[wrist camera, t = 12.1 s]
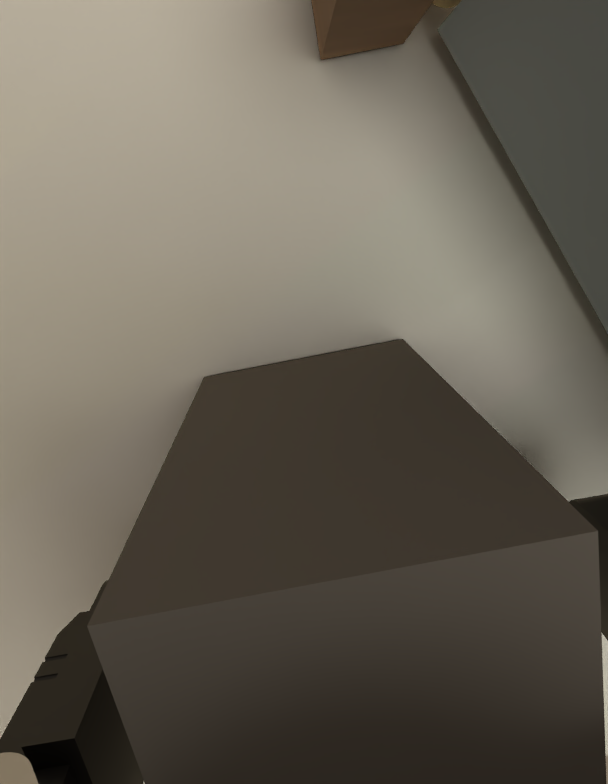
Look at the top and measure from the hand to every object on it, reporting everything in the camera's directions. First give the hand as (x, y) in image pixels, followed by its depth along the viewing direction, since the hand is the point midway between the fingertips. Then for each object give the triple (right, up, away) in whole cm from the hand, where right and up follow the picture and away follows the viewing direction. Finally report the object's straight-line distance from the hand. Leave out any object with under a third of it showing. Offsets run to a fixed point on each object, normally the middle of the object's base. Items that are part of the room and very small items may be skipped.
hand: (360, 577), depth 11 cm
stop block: (0, +1, +3) cm, 3 cm away
